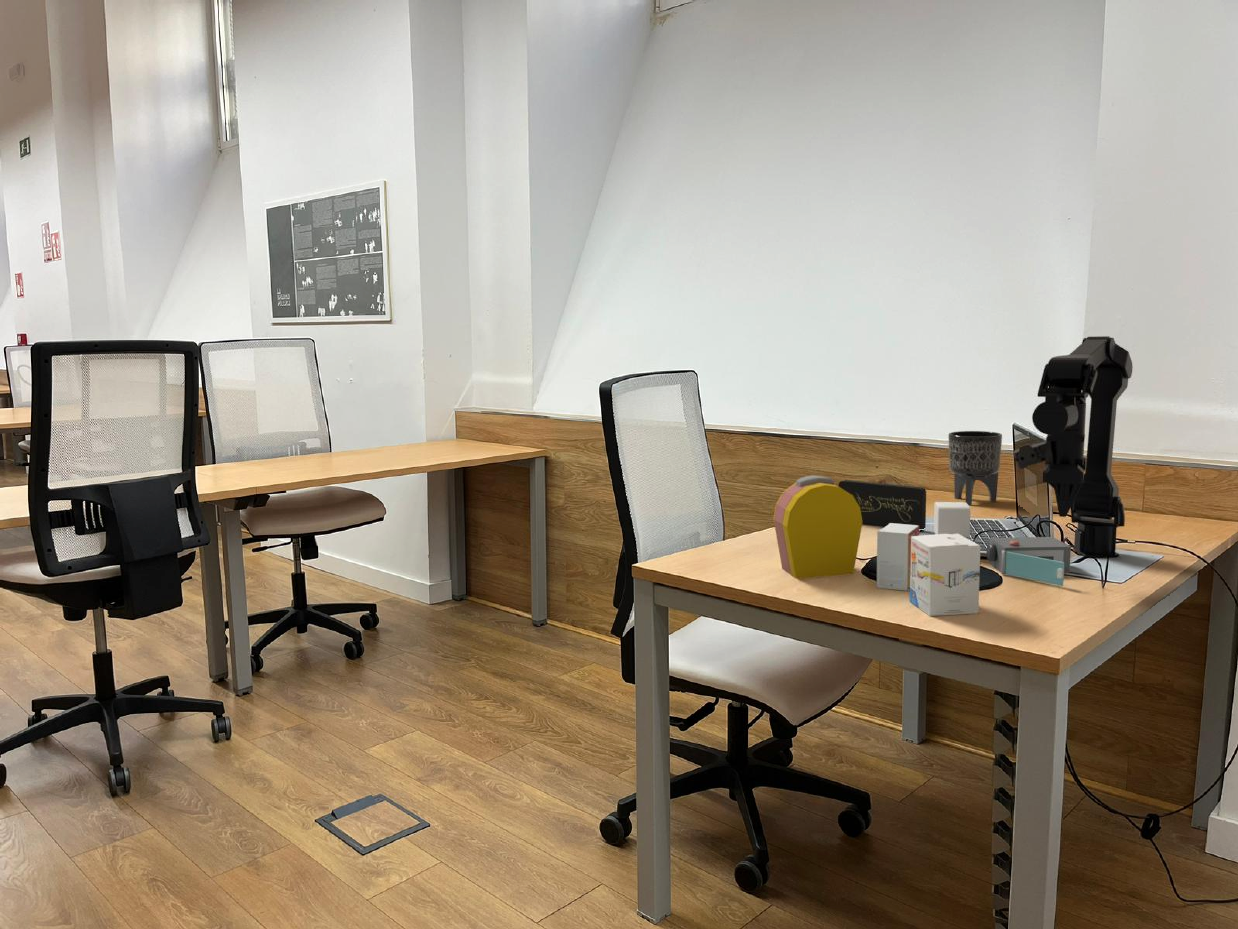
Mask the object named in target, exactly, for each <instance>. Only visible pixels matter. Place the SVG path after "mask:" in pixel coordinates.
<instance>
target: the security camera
mask: <svg viewBox="0 0 1238 929" xmlns="http://www.w3.org/2000/svg"><path fill="white" fill-rule="evenodd" d="M933 506H934V508H933V513H934V514H933V518H934V519H933V532H934V534H957V533H958V534H960V535H962V536H963V537H965V538H966V537H967V539H970V535H971V507H970V505H968V504H967V503H966V501H965V502H962V501H958V502H957V501H953V502H952V501H950V502H949V501H945V502H944V501H935V502H934V505H933Z"/></svg>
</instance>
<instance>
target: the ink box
mask: <svg viewBox="0 0 1238 929" xmlns="http://www.w3.org/2000/svg"><path fill="white" fill-rule="evenodd" d="M980 569H981V545H980V544H978V543H976V542H974V541H972V540H970V538H966V537H963V536H962V535H960V534H958V533H957V534H935V533H934V534H924V535H923V534H922V535H919V536H912V537H911V575H910V588H909V602H910V603H911V604H912V605H914V606H915V607H916V608H917V609H919V610H920V611H922V612H924V613H925V614H926V615H928V616H929V617H937V616H938V617H939V616H956V615H958V616H959V615H971V614H972V615H973V614H975V615H976V614H979V604H980V601H979V600H980V574H981V573H980Z"/></svg>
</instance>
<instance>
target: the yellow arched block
mask: <svg viewBox="0 0 1238 929" xmlns="http://www.w3.org/2000/svg"><path fill="white" fill-rule="evenodd" d="M772 518H773V519H772V521H773V524H774V529H775V535H776V542H777V548H778V553H779V558H780V563H781V569H782V570H784V571H785V572H786V573H788V574H789V575H791V577H793V578H794V579H796V580H797V579H811V578H822V577H825V578H826V577H835V576H849V575H850V576H851V575H854V571H855V566H856V562H857V555H858V551H859V545H860V544H859V543H860V538H861V532H862V527H863V524H862V516H861V511H860V507H859V505H858V504H857V502H856V500H855V499H854V497H853V496H852V495H851V494H850V493H848V492H846V491H845V490H843V489H842V488H840V487H838V485H836V484H835V480H834V479H833V478H830V477H827V476H824V475H813V474H811V475H806V476H802V477H800V478H798V479H796V480H795V482H794V483H793V484H792V485H790V486H789V487H788V488H785V490H784V491H782V493H781V495H780V497H779V498H778V500H777V502H776V504H775V506H774V512H773V517H772Z"/></svg>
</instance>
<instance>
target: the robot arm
mask: <svg viewBox="0 0 1238 929" xmlns="http://www.w3.org/2000/svg"><path fill="white" fill-rule="evenodd" d="M1048 360H1049V361H1048V362H1047V363H1046V364H1045V366H1044V369H1043V372H1042V376H1041V379H1040V380H1041V381H1040V384H1039V388H1038V391H1037V397H1038V398H1043V397H1044V398H1045V400H1044V401H1043V402H1041V403H1039V404H1037V406H1036V407H1035V408H1034V410H1033V412H1032V416H1031V419H1032V424H1033V426H1034V427H1035V429H1036V430H1037V431H1039V432H1040V433H1042V434H1043V435H1046V437H1045V441H1040V442H1036V443H1034V444H1030V443H1027V444H1024V445H1020V446H1019V448H1017V449H1015V450H1014V451H1013V457H1014V461H1015V463H1016V465H1017V467H1018V470H1022V469H1026V468H1028V466H1032V465H1036V464H1040V463H1042V462H1044V465H1047V466H1045V467H1044V468H1043V470H1042V483H1047V484H1048V485H1049V486H1051V487H1052V488H1053V490H1054V495H1055V500H1056V501H1055V502H1056V506H1057V510H1058V515H1059V517H1061V518H1065V517H1067V516H1068V514H1069V511H1070V516H1071V517H1070V520H1071V523H1072V524H1075V523H1076V524H1077V529H1074V545H1073V546H1072V550H1073V551H1074V552H1077V553H1078V554H1080V555H1081V556H1084V557H1087V558H1102V557H1103V558H1104V557H1108V556H1110V557H1112V558H1113V557H1120V553H1119V552H1116V549H1117V548H1116V546H1117V530H1118V529H1117V528H1120V527H1121V528H1122V527H1125V526H1126V525H1125V522H1126V515H1125V509H1124V504H1123V502H1122V498H1121V497H1120V496H1119V492H1120V489H1119V486H1118V484H1117V482H1116V481H1115V479H1114V478H1113V475H1112V465H1113V455H1114V454H1113V452H1114V441H1115V432H1116V431H1115V429H1116V418H1117V417H1116V416H1117V404H1118V400H1119V399H1120V398H1121V396H1122V394H1123V393H1124V392H1125V391H1126V390H1127V388H1128V384H1129V379H1131V378H1132V374H1133V361H1132V358H1131V355H1130V352H1129V351H1128V350H1127V349H1125V348H1123V347H1122V346H1120V345H1119V344H1117V342H1116V341H1115V338H1114V337H1111V336H1108V335H1105V336H1104V335H1103V336H1102V335H1101V336H1087V337H1084V338H1083V339H1082V342H1081V344H1080V345H1079V346H1077V347H1076V348H1075V349H1074V350H1072V351H1071V352H1070V353H1069V354H1066V355H1057V356H1053V357H1051V358H1050V359H1048ZM1088 397H1090V399H1091V400H1090V411H1089V421H1088V422H1089V424H1088V434H1087V437H1088V438H1087V446H1086V450H1087V451H1086V457H1085V438H1086V433H1085V432H1086V417H1087V416H1086V412H1087V398H1088Z"/></svg>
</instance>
